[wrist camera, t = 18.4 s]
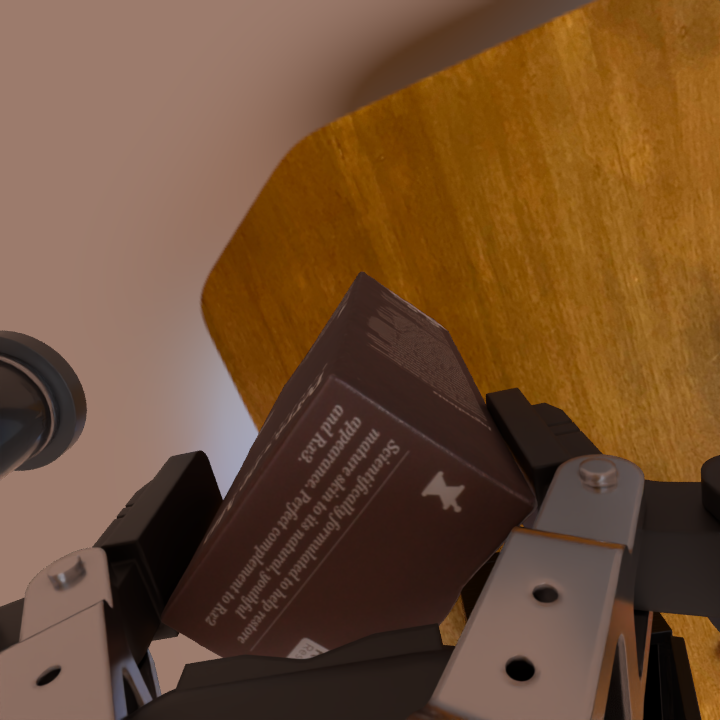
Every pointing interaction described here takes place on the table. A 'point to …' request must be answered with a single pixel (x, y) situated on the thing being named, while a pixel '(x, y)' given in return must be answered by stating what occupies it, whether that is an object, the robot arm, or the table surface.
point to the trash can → (659, 661)
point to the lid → (682, 682)
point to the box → (355, 494)
